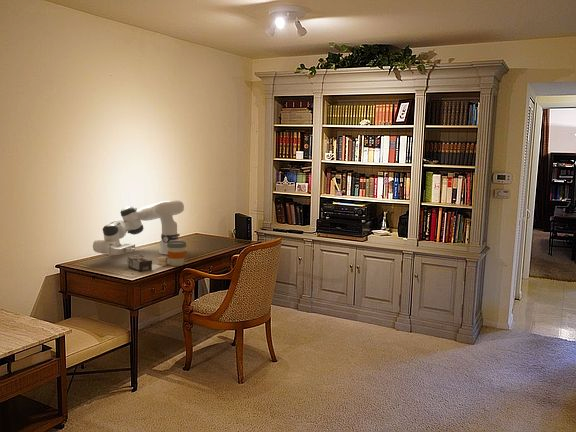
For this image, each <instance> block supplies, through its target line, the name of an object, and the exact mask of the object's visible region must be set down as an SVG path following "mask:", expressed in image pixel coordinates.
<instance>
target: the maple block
mask: <svg viewBox="0 0 576 432" xmlns="http://www.w3.org/2000/svg"><path fill="white" fill-rule="evenodd" d="M157 265H163V266H167V265H168V256H159V257H158V258H157Z"/></svg>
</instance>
